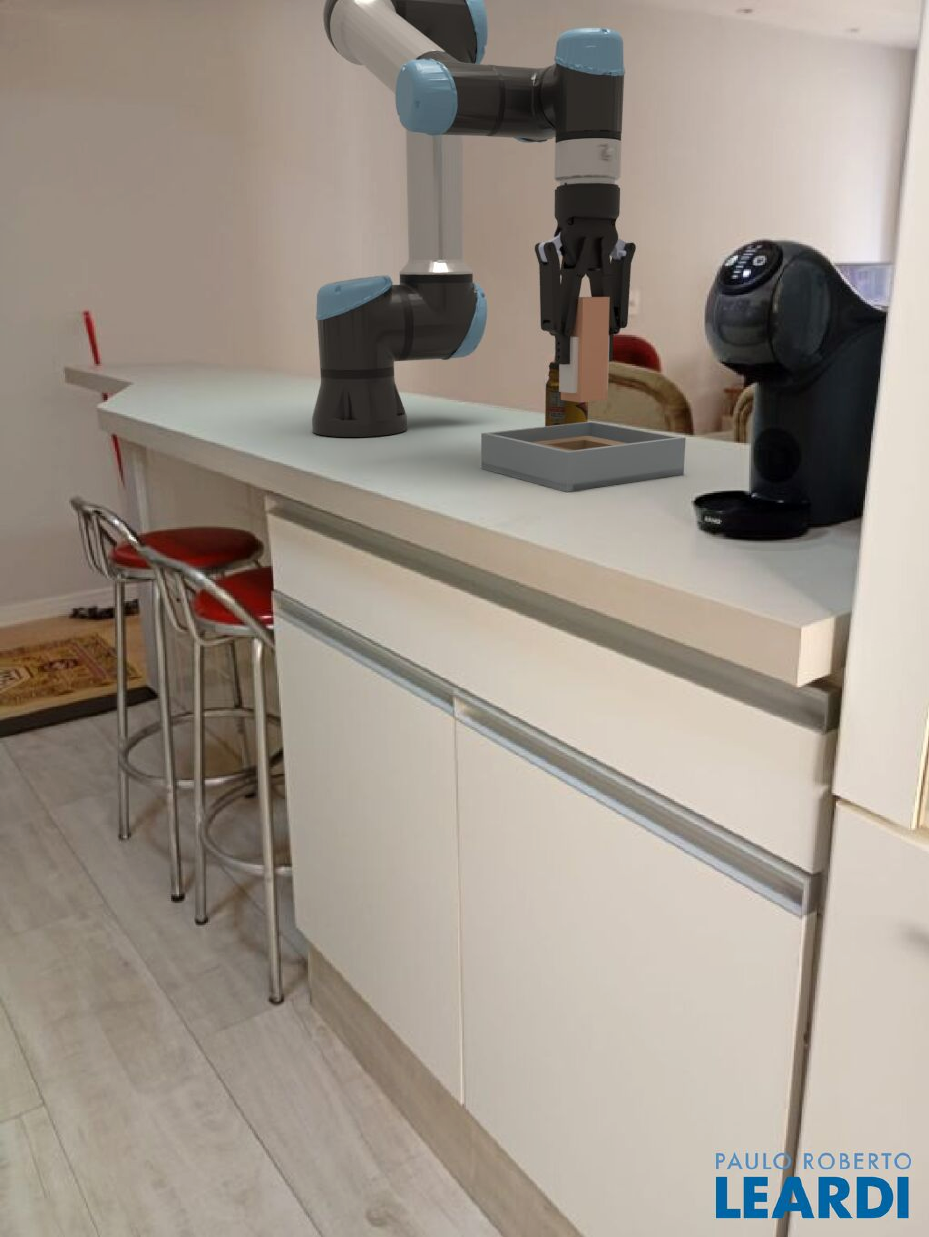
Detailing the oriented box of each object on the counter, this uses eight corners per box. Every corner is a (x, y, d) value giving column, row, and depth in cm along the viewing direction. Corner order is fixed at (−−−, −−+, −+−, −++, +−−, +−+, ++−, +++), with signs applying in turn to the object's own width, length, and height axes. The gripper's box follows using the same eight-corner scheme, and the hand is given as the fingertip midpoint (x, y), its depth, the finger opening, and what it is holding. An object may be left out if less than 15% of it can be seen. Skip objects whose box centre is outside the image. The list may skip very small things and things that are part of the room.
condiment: (599, 448, 143) (602, 361, 139) (552, 454, 139) (554, 365, 135) (567, 441, 149) (569, 358, 145) (521, 447, 145) (521, 361, 141)
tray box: (481, 468, 129) (481, 433, 128) (591, 454, 138) (592, 421, 137) (567, 491, 115) (567, 452, 113) (683, 474, 124) (685, 437, 122)
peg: (560, 399, 124) (562, 297, 120) (586, 397, 126) (588, 296, 122) (580, 402, 121) (582, 297, 117) (606, 399, 123) (609, 296, 119)
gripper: (547, 177, 108) (545, 398, 116) (665, 183, 117) (656, 388, 124) (507, 184, 115) (508, 393, 122) (623, 188, 123) (617, 384, 130)
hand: (583, 390), depth 123 cm, fingers closed on peg, 4 cm apart
